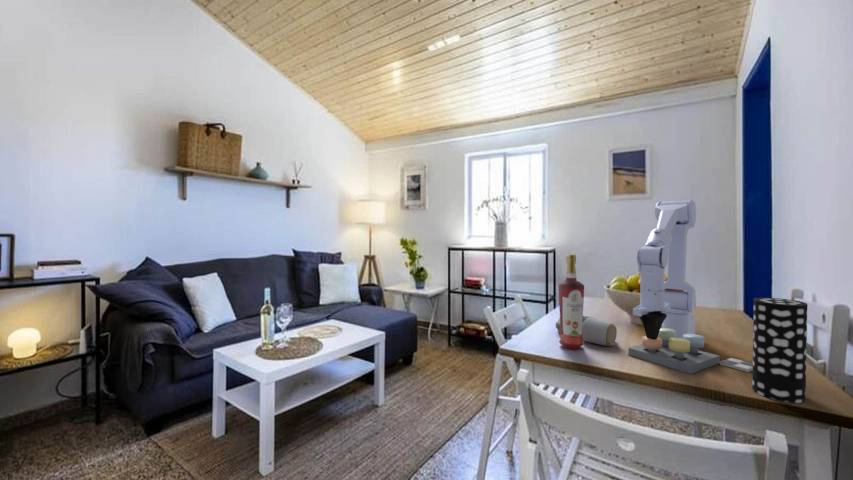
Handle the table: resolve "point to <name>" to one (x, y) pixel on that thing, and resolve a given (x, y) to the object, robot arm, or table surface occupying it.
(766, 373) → the white-spotted black cylinder
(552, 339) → the table surface
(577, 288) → the liquor
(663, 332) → the button
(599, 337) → the grey cylinder
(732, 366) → the card
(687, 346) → the button
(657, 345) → the button
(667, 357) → the button console
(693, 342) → the button
